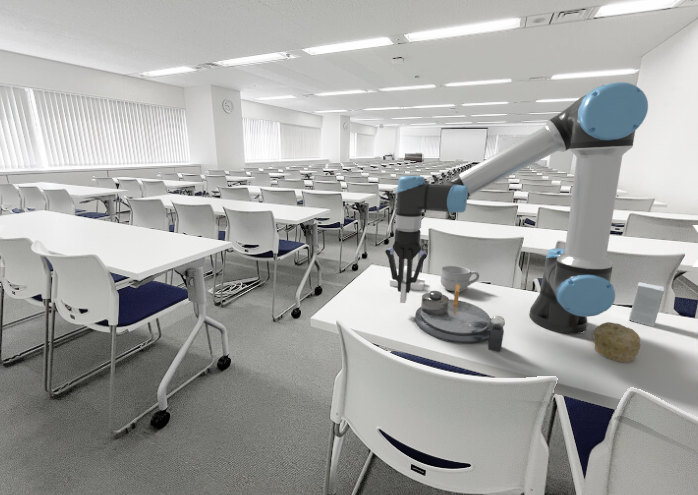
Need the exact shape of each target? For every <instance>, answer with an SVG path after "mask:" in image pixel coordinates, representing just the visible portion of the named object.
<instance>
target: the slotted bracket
mask: <svg viewBox="0 0 698 495" xmlns="http://www.w3.org/2000/svg"><path fill="white" fill-rule="evenodd" d="M406 275H407V265H404V273H403V280H404V281H406ZM425 282H426V278H424V277H418V278H417V280H416V282H415V283H411V289H410V290H416V291H423V290H424V286H425ZM389 285H393V286H392V287H394V286H398V282H397V281H396V280H393V279H392V277H390V278H389V282H388V286H389Z"/></svg>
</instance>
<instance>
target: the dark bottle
mask: <svg viewBox="0 0 698 495" xmlns="http://www.w3.org/2000/svg"><path fill="white" fill-rule="evenodd" d="M491 323H492V324H491V325H490V332H489V339H488V340H487V350H490V351H493V352H494V351H495V352H498V353H499V352H501V350H502V346H503V338H504V335H505V334H504V333H505V332H504V331H505V330H504V326H505V324H506V321H505V319H504V317H503V316H501V315H495V316H493V317H492V318H491Z"/></svg>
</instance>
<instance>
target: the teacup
mask: <svg viewBox="0 0 698 495" xmlns="http://www.w3.org/2000/svg"><path fill="white" fill-rule="evenodd" d="M472 275H476V277H475V278H474V279H472V280H470V278H471V277H472ZM479 279H480V273H479V272H478V271H476V270H472V271H471V270H470V269H469V268H467V267H464V266H459V265H444V266H442V267H441V268H440V283H441V286H442V287H444V288H445V290H447V291H451V292H455V289H456V284H459V285H460V289H459V292H462V291H464V290H465V289H467V288H468V287H469V286H470V285H471V284H474V283H476V282H477V281H479Z"/></svg>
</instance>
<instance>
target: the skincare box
mask: <svg viewBox="0 0 698 495" xmlns="http://www.w3.org/2000/svg"><path fill="white" fill-rule="evenodd" d="M664 293H665V287H664V286H661V285H656V284H655V285H654V284H649V283H645V282H640V281H639V282H638V284H637V287H636V292H635V295H634V298H633V302H632V307H631V310H630V314H629V317H628V321H629V320H631V321H630V322H632V321H634V322H633V323H636V322H638V323H637V324H640V323H641V324H640V325H644V324H645V326H649V327H652V328H654V327H655V325H656V320H657V317H658V313H659V311H660V307H661V303H662V300H663V296H664Z"/></svg>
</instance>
